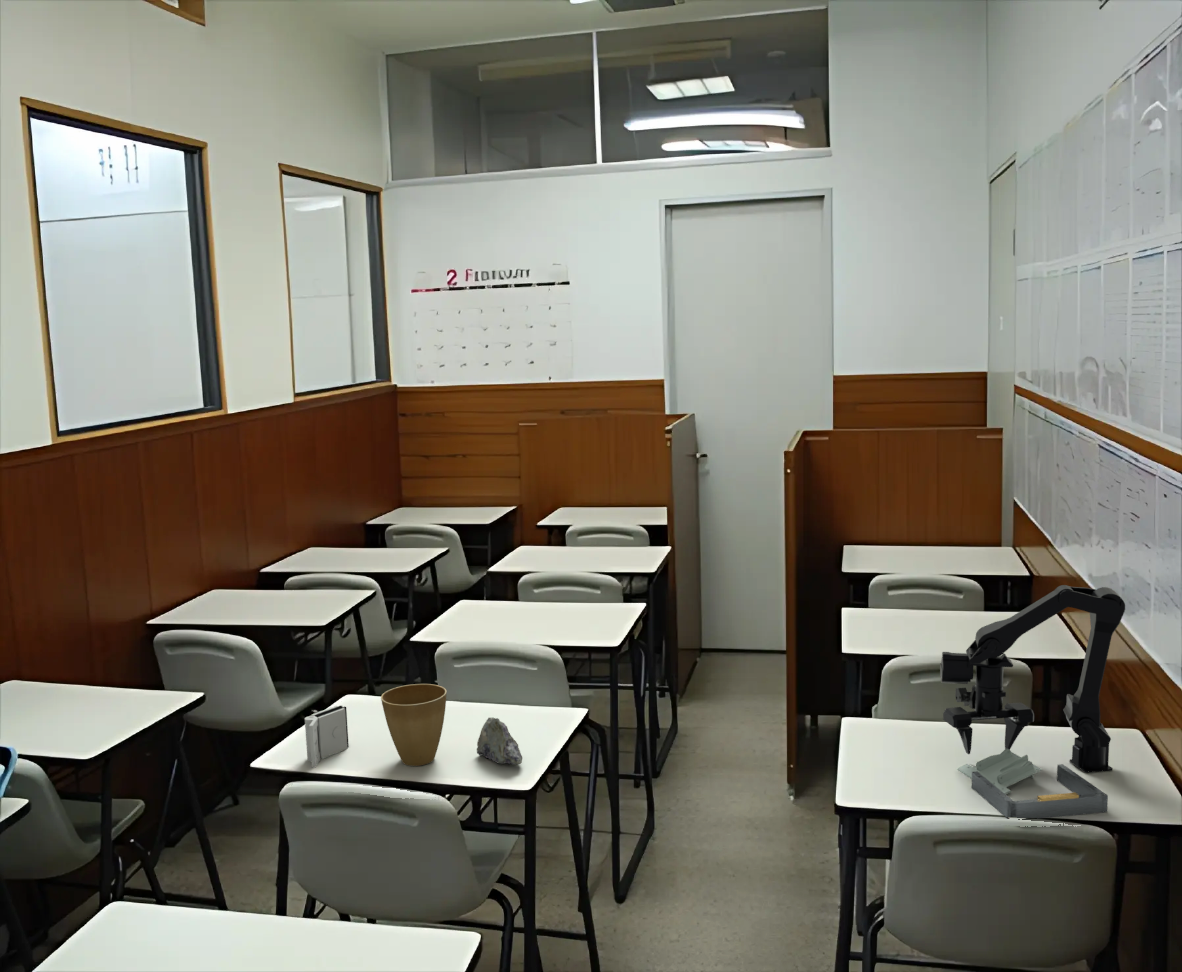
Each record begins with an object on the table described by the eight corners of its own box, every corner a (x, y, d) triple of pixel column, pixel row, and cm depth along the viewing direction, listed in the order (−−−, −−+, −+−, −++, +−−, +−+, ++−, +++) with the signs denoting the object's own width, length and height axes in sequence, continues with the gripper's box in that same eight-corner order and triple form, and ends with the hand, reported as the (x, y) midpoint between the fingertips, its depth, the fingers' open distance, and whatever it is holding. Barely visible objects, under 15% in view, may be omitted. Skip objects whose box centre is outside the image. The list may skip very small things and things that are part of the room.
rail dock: (1062, 779, 234) (1062, 761, 233) (1107, 812, 218) (1108, 792, 218) (971, 787, 231) (971, 769, 231) (1010, 821, 215) (1011, 801, 215)
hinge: (337, 766, 252) (334, 725, 250) (301, 767, 252) (299, 726, 250) (349, 745, 265) (347, 705, 263) (315, 746, 265) (313, 706, 263)
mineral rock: (522, 772, 246) (520, 729, 245) (474, 774, 246) (472, 731, 244) (523, 750, 259) (521, 709, 257) (477, 752, 258) (475, 711, 257)
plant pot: (448, 745, 263) (445, 680, 260) (450, 769, 248) (447, 701, 246) (385, 750, 260) (381, 685, 258) (383, 775, 246) (379, 706, 244)
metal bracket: (1004, 738, 243) (1050, 763, 229) (1010, 761, 244) (1056, 788, 230) (949, 764, 240) (992, 791, 226) (956, 787, 241) (998, 815, 227)
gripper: (1010, 670, 252) (1008, 735, 254) (932, 676, 249) (931, 742, 252) (1036, 685, 241) (1034, 754, 243) (955, 691, 238) (954, 760, 241)
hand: (987, 752), depth 245 cm, fingers open, 9 cm apart
